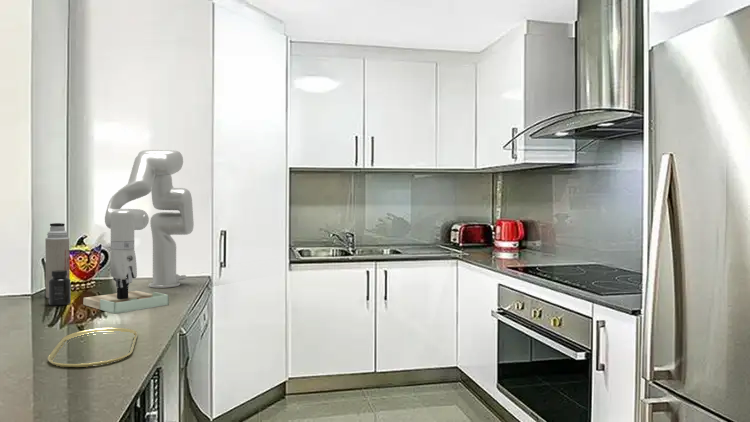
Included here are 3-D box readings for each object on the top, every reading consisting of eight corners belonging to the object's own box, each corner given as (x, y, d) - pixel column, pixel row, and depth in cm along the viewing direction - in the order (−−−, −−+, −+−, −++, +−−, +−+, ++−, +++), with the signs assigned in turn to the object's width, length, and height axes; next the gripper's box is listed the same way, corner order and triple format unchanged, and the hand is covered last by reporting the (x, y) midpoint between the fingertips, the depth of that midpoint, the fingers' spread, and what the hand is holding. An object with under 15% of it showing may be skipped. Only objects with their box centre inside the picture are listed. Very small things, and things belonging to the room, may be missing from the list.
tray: (154, 301, 208) (154, 291, 208) (168, 304, 203) (168, 295, 202) (100, 309, 193) (100, 299, 193) (114, 313, 187) (114, 303, 187)
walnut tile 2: (135, 301, 193) (135, 308, 193) (127, 299, 196) (127, 306, 196) (121, 303, 189) (121, 310, 189) (113, 301, 192) (113, 308, 192)
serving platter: (139, 331, 166) (139, 326, 166) (129, 366, 133) (129, 360, 133) (68, 335, 160) (68, 330, 160) (39, 374, 127) (39, 367, 127)
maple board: (136, 297, 216) (136, 290, 216) (153, 301, 209) (153, 294, 209) (83, 304, 200) (83, 297, 200) (99, 309, 193) (99, 302, 193)
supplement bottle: (74, 302, 204) (74, 269, 203) (62, 306, 197) (62, 272, 196) (57, 302, 204) (56, 269, 204) (44, 305, 198) (44, 271, 197)
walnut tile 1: (157, 297, 200) (157, 304, 200) (150, 296, 203) (150, 302, 203) (144, 299, 196) (144, 307, 196) (136, 298, 199) (136, 304, 199)
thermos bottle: (73, 294, 219) (73, 222, 218) (62, 298, 211) (61, 224, 210) (53, 294, 219) (53, 222, 218) (41, 298, 211) (40, 223, 210)
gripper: (144, 246, 193) (144, 300, 193) (122, 243, 202) (122, 294, 203) (123, 248, 187) (123, 303, 188) (101, 245, 196) (101, 297, 197)
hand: (122, 298), depth 195 cm, fingers closed
